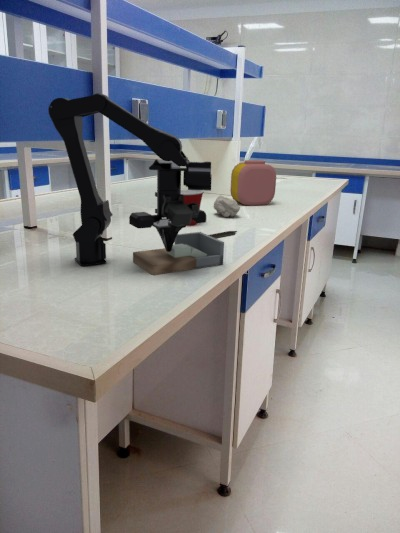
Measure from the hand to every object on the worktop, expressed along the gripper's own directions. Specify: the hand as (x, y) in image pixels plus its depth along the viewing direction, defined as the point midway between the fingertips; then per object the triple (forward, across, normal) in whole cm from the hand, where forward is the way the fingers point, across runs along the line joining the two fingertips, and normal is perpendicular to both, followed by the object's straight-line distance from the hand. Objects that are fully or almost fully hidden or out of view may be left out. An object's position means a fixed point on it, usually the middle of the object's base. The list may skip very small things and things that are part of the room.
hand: (168, 251), depth 113 cm
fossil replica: (+4, +49, +48) cm, 69 cm away
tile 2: (+2, +7, 0) cm, 8 cm away
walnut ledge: (+4, -1, +1) cm, 4 cm away
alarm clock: (+4, +76, +67) cm, 101 cm away
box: (+4, +9, +1) cm, 10 cm away
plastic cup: (+4, +28, +41) cm, 50 cm away
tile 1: (+1, +3, 0) cm, 3 cm away
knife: (+4, +25, +21) cm, 33 cm away
